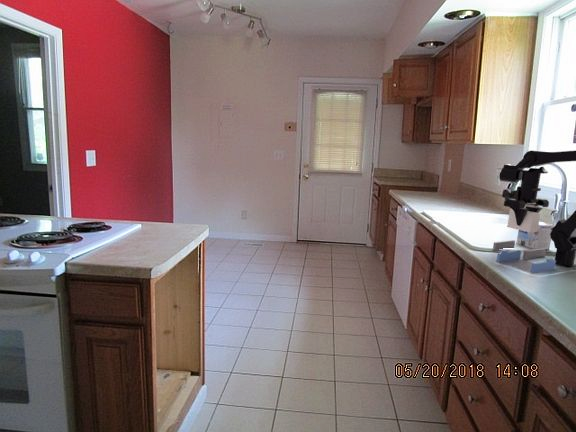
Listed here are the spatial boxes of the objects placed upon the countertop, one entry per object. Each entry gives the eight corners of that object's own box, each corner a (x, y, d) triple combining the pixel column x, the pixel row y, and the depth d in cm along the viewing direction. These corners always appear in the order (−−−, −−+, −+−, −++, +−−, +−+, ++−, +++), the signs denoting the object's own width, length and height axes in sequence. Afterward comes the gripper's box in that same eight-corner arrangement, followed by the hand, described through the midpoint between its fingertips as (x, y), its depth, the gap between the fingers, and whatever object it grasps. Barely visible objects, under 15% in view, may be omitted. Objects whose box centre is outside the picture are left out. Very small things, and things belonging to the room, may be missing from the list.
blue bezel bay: (517, 259, 144) (519, 248, 143) (554, 270, 133) (556, 258, 132) (496, 262, 139) (498, 250, 138) (532, 274, 128) (534, 261, 127)
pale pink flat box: (514, 226, 154) (517, 209, 153) (537, 231, 147) (540, 213, 145) (507, 227, 152) (510, 209, 151) (529, 232, 145) (533, 213, 143)
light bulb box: (515, 244, 167) (519, 219, 165) (528, 243, 169) (532, 219, 167) (536, 251, 157) (541, 225, 155) (550, 250, 159) (554, 224, 157)
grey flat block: (512, 248, 160) (513, 240, 159) (544, 257, 148) (546, 248, 148) (492, 250, 154) (493, 242, 154) (524, 260, 143) (526, 251, 142)
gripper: (524, 181, 157) (517, 219, 160) (493, 182, 149) (487, 222, 152) (553, 185, 148) (545, 225, 151) (522, 185, 139) (514, 228, 142)
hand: (522, 225), depth 149 cm, fingers closed on pale pink flat box, 4 cm apart
